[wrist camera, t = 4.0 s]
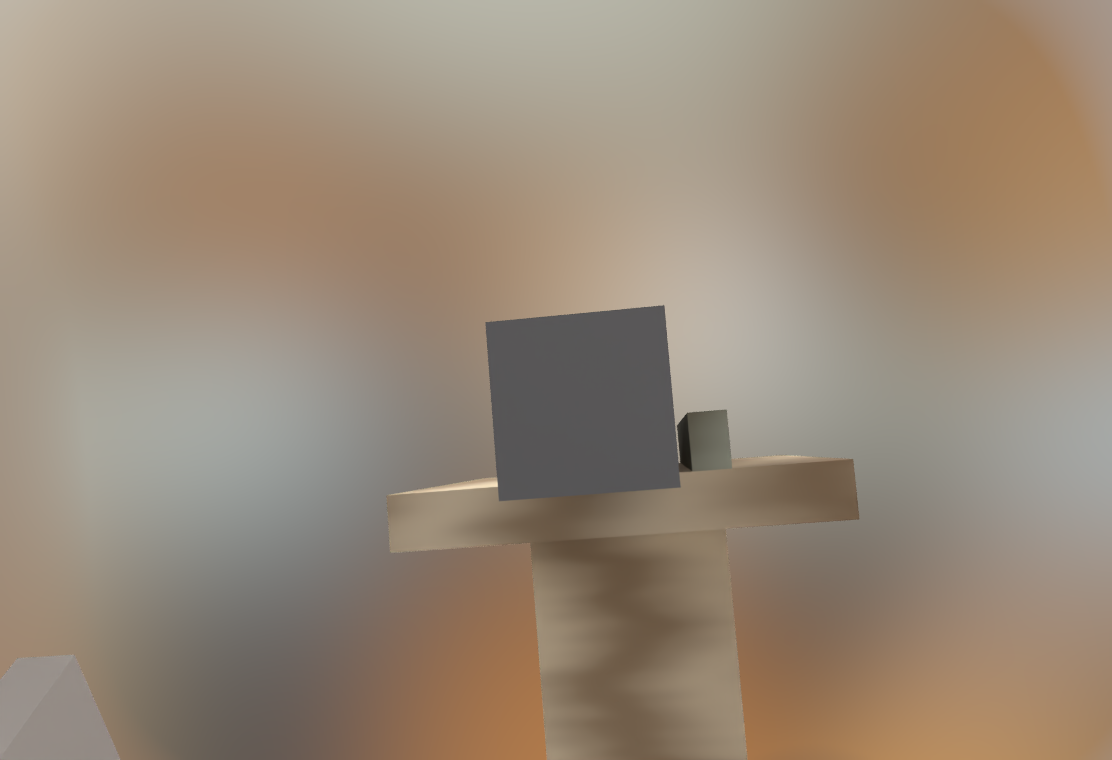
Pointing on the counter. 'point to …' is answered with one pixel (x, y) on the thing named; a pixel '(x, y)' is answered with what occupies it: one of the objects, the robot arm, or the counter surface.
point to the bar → (582, 404)
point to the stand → (637, 589)
